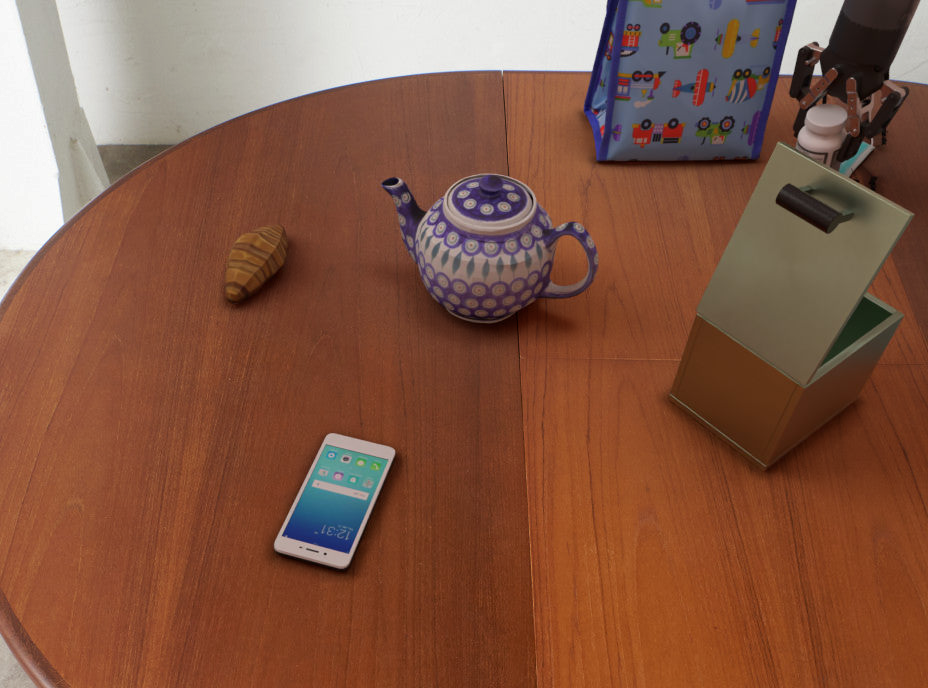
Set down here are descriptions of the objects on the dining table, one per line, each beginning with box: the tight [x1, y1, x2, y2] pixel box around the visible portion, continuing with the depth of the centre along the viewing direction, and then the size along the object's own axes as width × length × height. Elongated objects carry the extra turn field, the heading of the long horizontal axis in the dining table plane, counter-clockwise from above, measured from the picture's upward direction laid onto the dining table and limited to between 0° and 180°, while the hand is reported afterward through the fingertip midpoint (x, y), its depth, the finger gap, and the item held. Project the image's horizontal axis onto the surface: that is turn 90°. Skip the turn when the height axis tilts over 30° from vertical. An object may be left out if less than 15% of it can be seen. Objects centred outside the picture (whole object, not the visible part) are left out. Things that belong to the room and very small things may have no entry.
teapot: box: [380, 173, 600, 324], centre depth 102 cm, size 25×15×15 cm, turn 63°
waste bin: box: [667, 291, 905, 472], centre depth 94 cm, size 16×13×12 cm
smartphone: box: [273, 432, 396, 572], centre depth 90 cm, size 7×1×15 cm
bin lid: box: [695, 140, 916, 386], centre depth 79 cm, size 16×13×5 cm
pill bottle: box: [794, 103, 849, 172], centre depth 117 cm, size 6×6×10 cm
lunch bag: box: [583, 0, 798, 162], centre depth 116 cm, size 22×14×29 cm, turn 93°
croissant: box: [223, 224, 289, 305], centre depth 108 cm, size 14×7×5 cm, turn 161°
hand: (821, 147), depth 117 cm, fingers closed on pill bottle, 6 cm apart
